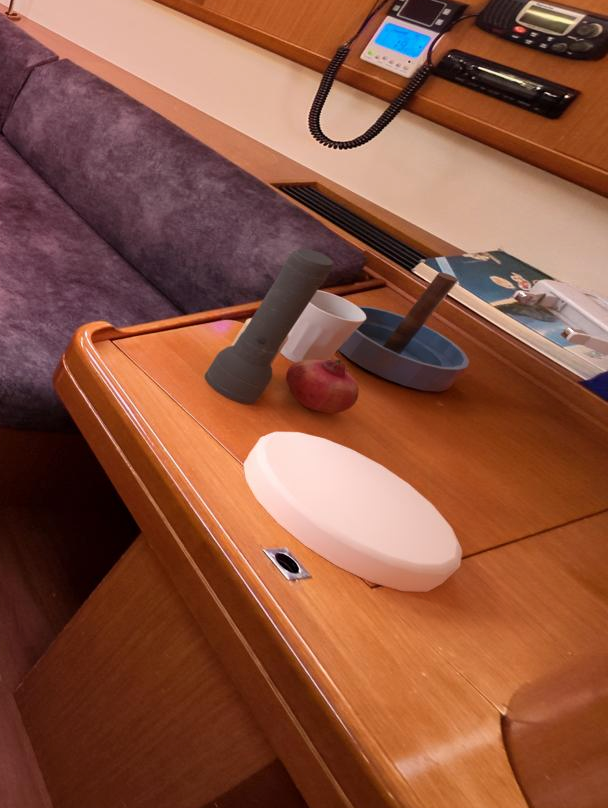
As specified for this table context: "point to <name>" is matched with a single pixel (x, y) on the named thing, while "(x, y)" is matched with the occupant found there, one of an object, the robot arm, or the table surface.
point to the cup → (322, 328)
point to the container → (352, 511)
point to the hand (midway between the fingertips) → (541, 314)
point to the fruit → (322, 385)
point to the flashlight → (268, 328)
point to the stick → (420, 312)
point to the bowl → (405, 353)
